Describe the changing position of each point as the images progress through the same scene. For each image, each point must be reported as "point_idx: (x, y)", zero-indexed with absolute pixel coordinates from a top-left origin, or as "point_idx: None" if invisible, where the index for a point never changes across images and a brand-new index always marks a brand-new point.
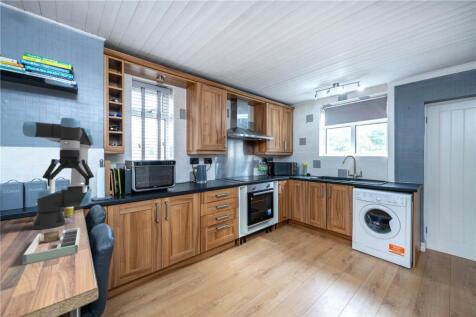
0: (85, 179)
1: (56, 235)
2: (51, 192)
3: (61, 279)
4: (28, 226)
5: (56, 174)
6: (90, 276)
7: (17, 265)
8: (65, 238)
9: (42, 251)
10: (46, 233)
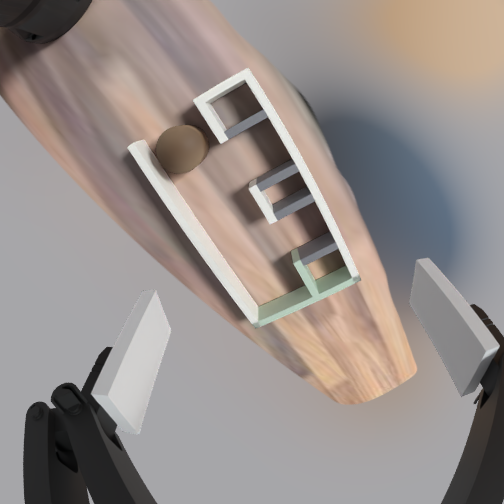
0: (480, 379)
1: (204, 151)
2: (169, 333)
3: (372, 360)
4: None
5: (127, 472)
6: (410, 353)
7: None
8: (283, 213)
9: (287, 312)
10: (163, 155)
